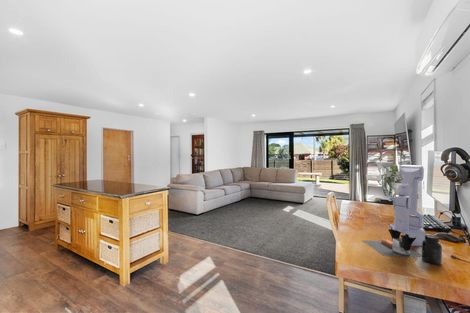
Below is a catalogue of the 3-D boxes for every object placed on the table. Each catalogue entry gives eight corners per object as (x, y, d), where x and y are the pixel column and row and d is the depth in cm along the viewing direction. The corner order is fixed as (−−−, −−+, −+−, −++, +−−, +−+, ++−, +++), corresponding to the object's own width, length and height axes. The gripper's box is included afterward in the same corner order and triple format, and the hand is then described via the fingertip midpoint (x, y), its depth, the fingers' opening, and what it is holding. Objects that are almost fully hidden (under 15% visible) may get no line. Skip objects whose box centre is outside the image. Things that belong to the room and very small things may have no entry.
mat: (397, 242, 124) (397, 241, 124) (426, 258, 104) (426, 257, 104) (361, 240, 125) (361, 240, 125) (383, 256, 105) (383, 255, 105)
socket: (402, 247, 111) (402, 237, 111) (408, 251, 106) (408, 240, 106) (392, 246, 111) (392, 236, 111) (398, 250, 107) (399, 240, 107)
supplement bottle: (417, 259, 103) (417, 233, 103) (431, 258, 103) (431, 233, 104) (432, 266, 96) (432, 238, 96) (446, 265, 97) (446, 238, 97)
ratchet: (390, 242, 122) (390, 235, 122) (413, 256, 105) (413, 247, 105) (377, 242, 122) (377, 234, 122) (398, 255, 105) (398, 247, 105)
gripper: (384, 215, 116) (383, 241, 116) (403, 223, 102) (403, 252, 102) (397, 216, 116) (397, 241, 116) (419, 224, 102) (419, 253, 101)
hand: (401, 247), depth 109 cm, fingers open, 7 cm apart
